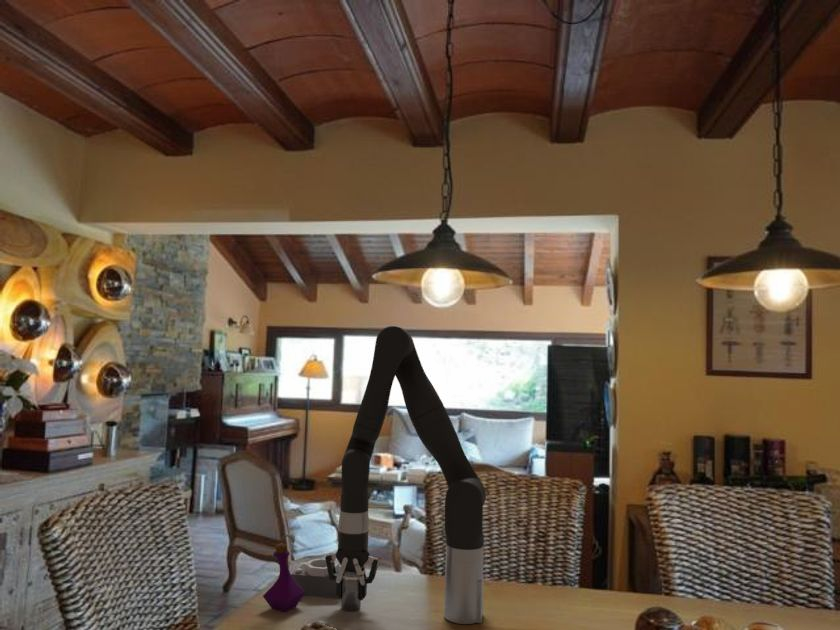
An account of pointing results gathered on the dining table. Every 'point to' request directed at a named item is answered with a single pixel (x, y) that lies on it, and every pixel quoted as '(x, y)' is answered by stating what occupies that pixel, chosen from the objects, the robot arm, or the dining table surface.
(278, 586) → the perfume bottle
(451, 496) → the robot arm
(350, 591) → the lens
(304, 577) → the camera body
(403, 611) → the dining table surface
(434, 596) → the dining table surface
